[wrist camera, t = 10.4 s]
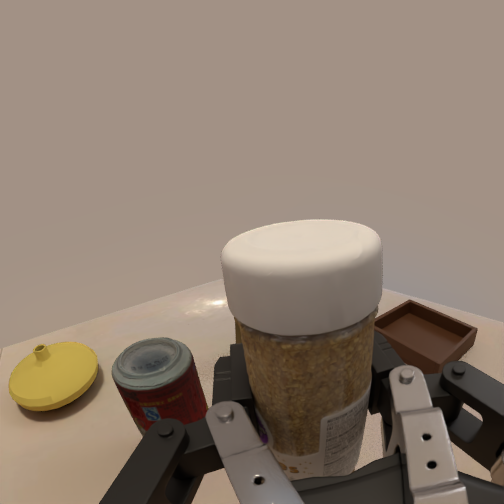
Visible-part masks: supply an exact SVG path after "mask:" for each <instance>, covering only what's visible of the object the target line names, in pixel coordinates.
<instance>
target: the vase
mask: <svg viewBox="0 0 504 504" xmlns="http://www.w3.org/2000/svg"><path fill="white" fill-rule="evenodd" d="M97 372H98V363H97V355H96V354H95V352H94V351H93V350H92V349H91V348H89V347H87V346H86V345H84V344H81V343H77V342H61V343H56V344H52V345H48V346H46V345H45V344H40V345H38V346H36V347H35V348H34V349H33V353H31V354H30V355H28V356H27V357H26V358H24V359H23V360H22V361H21V362H20V363H19V364H18V365H17V366H16V367H15V369H14V370H13V372H12V373H11V377H10V380H9V393H10V395H11V397H12V399H13V400H14V401H16V402H17V403H18V404H19V405H21V406H22V407H23V408H25V409H28V410H32V411H47V410H52V409H56V408H59V407H62V406H64V405H66V404H68V403H70V402H72V401H73V400H75V399H76V398H78V397H79V396H81V395H82V394H83V393H84V392H85V391H86V390H87V389H88V388H89V387H90V386H91V384H92V383H93V381H94V380H95V378H96V375H97Z"/></svg>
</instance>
